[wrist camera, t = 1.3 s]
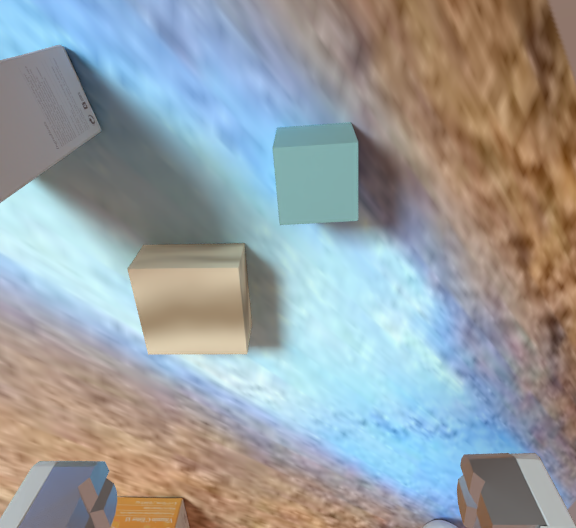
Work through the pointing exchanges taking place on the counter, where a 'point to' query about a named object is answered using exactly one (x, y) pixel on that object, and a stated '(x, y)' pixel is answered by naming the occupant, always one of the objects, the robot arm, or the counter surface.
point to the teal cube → (316, 173)
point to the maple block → (192, 298)
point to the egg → (439, 524)
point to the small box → (150, 513)
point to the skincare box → (40, 115)
